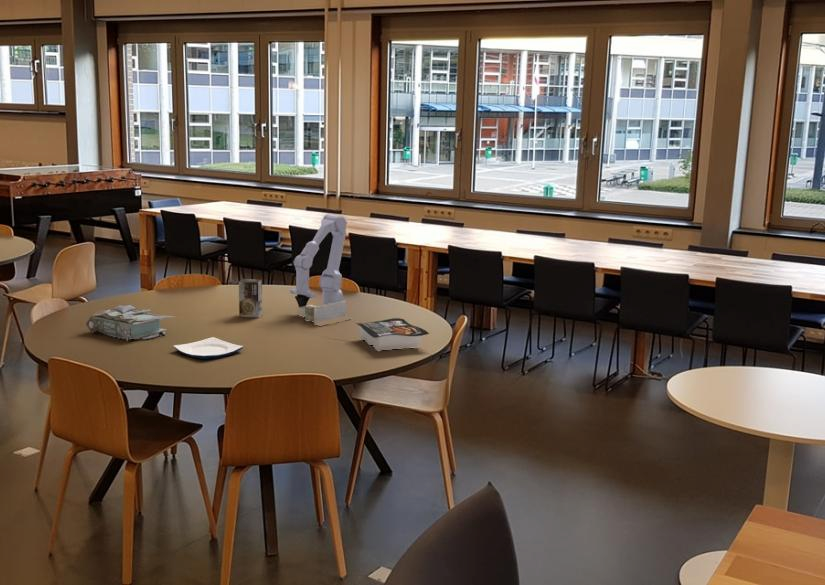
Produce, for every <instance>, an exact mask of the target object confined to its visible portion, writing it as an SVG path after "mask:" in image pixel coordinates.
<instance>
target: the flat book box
mask: <svg viewBox="0 0 825 585" xmlns="http://www.w3.org/2000/svg"><path fill="white" fill-rule="evenodd" d="M306 306H313V307H316V306H317V305H313V304H309V305H306ZM306 306H303V307H299V306H298V307H297V316H298V315H302V316H305V307H306Z"/></svg>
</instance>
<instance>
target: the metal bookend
mask: <svg viewBox="0 0 825 585" xmlns="http://www.w3.org/2000/svg"><path fill="white" fill-rule="evenodd" d="M315 306H316V307H314V323H315V324H316V323H319V322H323V321H327V320H331V319H335V318H339V317H344V316H346V317H347V300H343V301H340V302H336V303H331V304H326V305H322V304H321V305H318V306H317V305H315ZM314 323H313V324H314Z"/></svg>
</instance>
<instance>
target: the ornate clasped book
mask: <svg viewBox="0 0 825 585" xmlns="http://www.w3.org/2000/svg"><path fill="white" fill-rule="evenodd" d="M150 311H151V309H150V308H149V309H142V310H138V308H137V307H135V306H133V305H131V304H128V305H120V304H119V305H118V306H116V307H114V308H112V310H111V309H107V310H99V311H96V312H94V313H93V314H92V315H91V316H90V317H89V318H88V319H87V321H86V323H85V325H86V327H87V328H88V331H90V333H92V334H94V333H95V332H98V333H101V334H103V335H106V336H109V335H110V336H109V337H111V336H113V337H112V338H115V337H118V338H117V339H120V338H122V339H121V340H126V341H127V342H128V341H129V340H131V339H134V340H139V339H138V338H142V339H141V340H149V339H153V338H156V337H159V336H160V333H161V334H162V335H166V332H168V331H169V329H166V328H160V320H161V321H163V320H164V319H168V318H170V319H171V318H175V315H174V316H173V315H172V316H170V315H159V314H155V313H149V312H150Z"/></svg>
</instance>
